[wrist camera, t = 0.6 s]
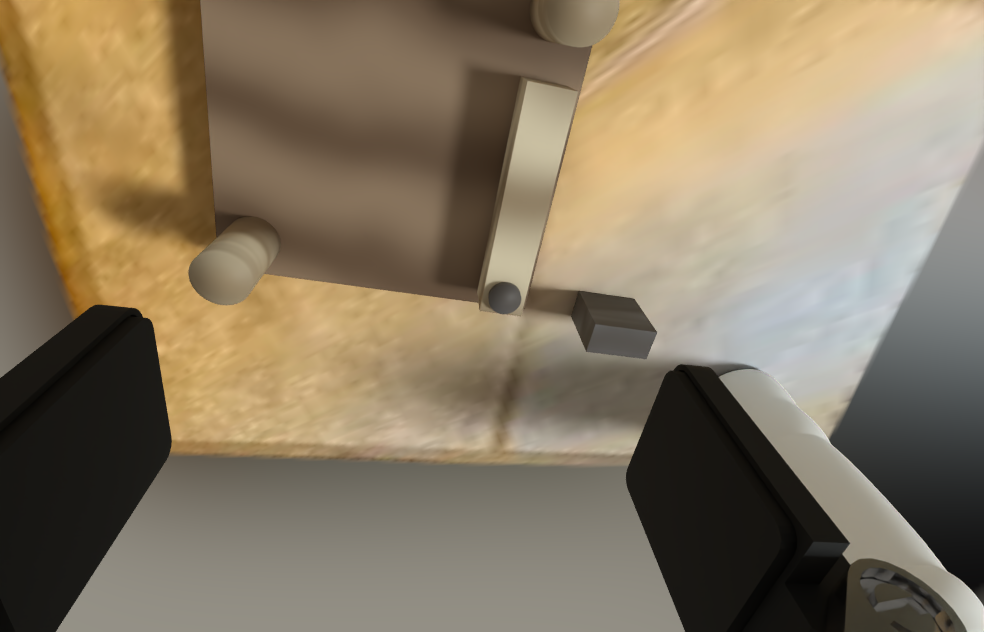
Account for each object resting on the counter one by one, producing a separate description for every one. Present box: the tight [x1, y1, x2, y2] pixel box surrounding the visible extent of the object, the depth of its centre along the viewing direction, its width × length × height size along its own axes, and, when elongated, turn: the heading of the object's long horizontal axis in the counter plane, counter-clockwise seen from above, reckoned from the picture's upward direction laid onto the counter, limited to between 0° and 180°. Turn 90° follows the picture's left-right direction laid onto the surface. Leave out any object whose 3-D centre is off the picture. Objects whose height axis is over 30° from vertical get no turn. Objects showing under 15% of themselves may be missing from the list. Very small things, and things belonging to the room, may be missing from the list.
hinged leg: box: [477, 76, 578, 316], centre depth 27 cm, size 12×2×3 cm, turn 169°
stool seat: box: [189, 0, 657, 359], centre depth 26 cm, size 19×26×8 cm
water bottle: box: [719, 369, 984, 632], centre depth 30 cm, size 7×7×25 cm
